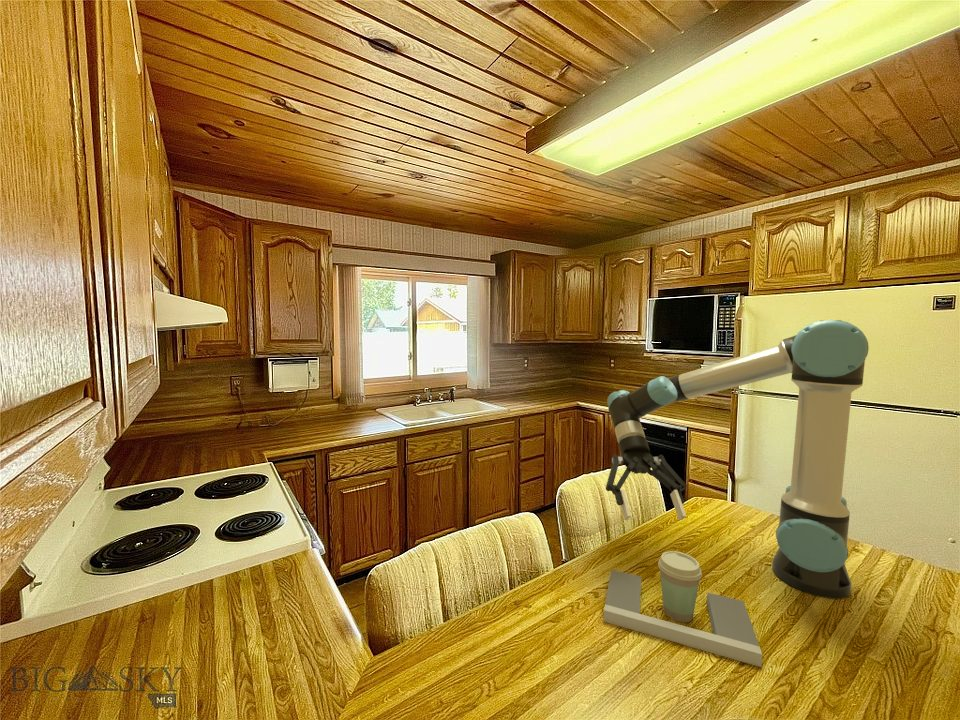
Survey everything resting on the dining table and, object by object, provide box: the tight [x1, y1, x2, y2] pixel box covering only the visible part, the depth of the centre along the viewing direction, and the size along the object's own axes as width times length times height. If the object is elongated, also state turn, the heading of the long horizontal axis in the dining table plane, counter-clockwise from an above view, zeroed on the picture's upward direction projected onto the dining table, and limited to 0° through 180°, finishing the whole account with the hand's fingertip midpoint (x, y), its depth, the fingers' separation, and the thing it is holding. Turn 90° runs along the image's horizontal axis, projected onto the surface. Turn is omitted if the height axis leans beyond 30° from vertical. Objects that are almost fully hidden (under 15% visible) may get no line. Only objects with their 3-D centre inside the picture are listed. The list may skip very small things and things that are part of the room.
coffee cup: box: [657, 550, 703, 623], centre depth 86 cm, size 8×8×12 cm
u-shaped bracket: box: [603, 569, 763, 668], centre depth 85 cm, size 28×16×2 cm, turn 66°
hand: (655, 518), depth 96 cm, fingers open, 13 cm apart
